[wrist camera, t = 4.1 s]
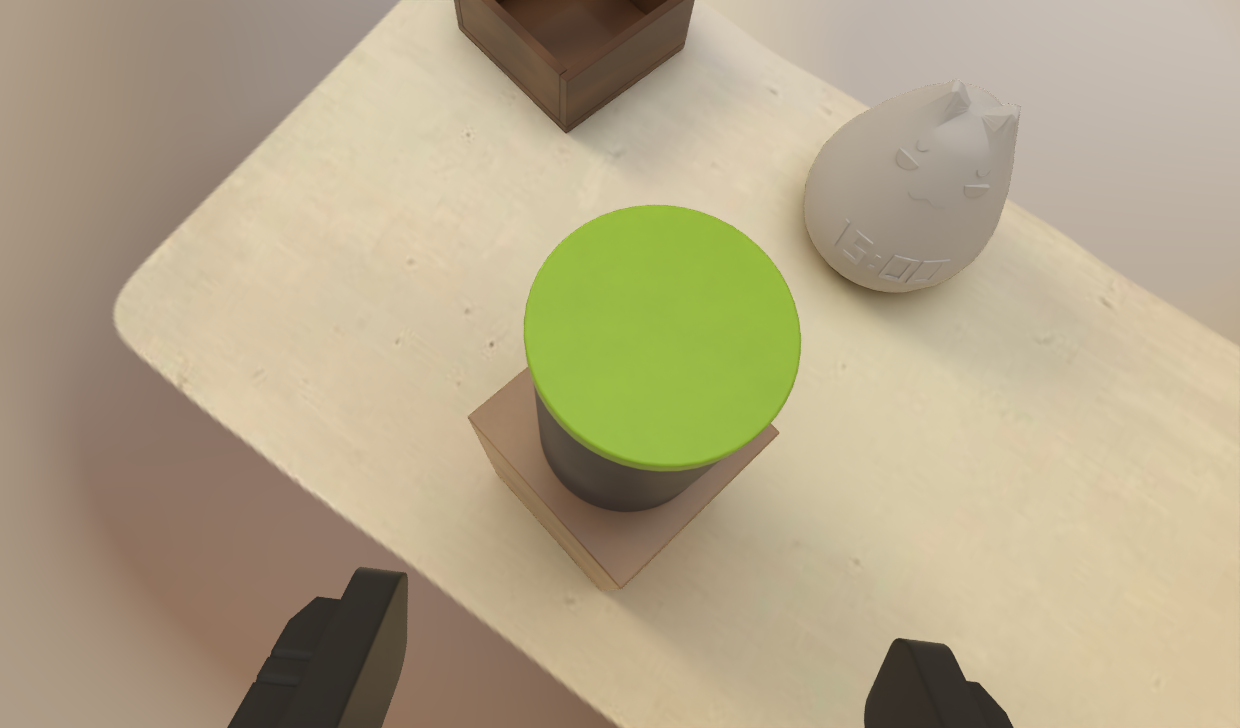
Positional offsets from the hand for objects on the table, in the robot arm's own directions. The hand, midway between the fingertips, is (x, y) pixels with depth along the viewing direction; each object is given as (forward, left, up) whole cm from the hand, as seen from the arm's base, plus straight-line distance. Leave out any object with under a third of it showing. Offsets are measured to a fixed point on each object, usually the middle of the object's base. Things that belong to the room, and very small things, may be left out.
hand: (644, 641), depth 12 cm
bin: (-26, +23, -24) cm, 42 cm away
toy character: (-4, +27, -25) cm, 37 cm away
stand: (-4, +5, -24) cm, 25 cm away
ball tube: (-4, +5, -12) cm, 14 cm away
